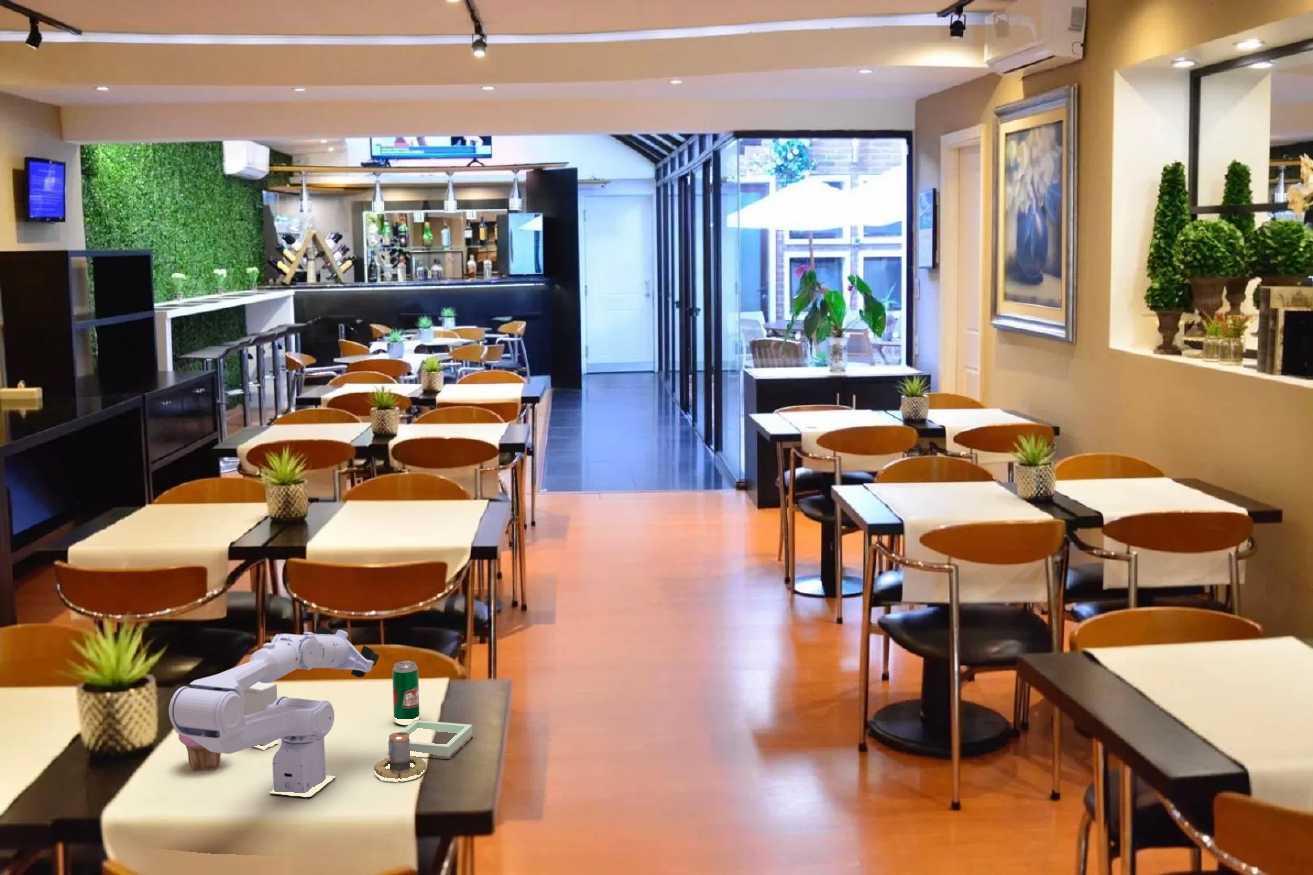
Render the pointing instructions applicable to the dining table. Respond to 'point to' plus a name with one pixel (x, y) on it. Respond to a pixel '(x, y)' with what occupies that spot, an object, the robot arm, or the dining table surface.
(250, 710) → the skincare box
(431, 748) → the mint green square frame
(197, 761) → the cupcake
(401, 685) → the soda can
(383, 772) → the collar
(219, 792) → the dining table surface
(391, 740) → the grey copper-topped cylinder
